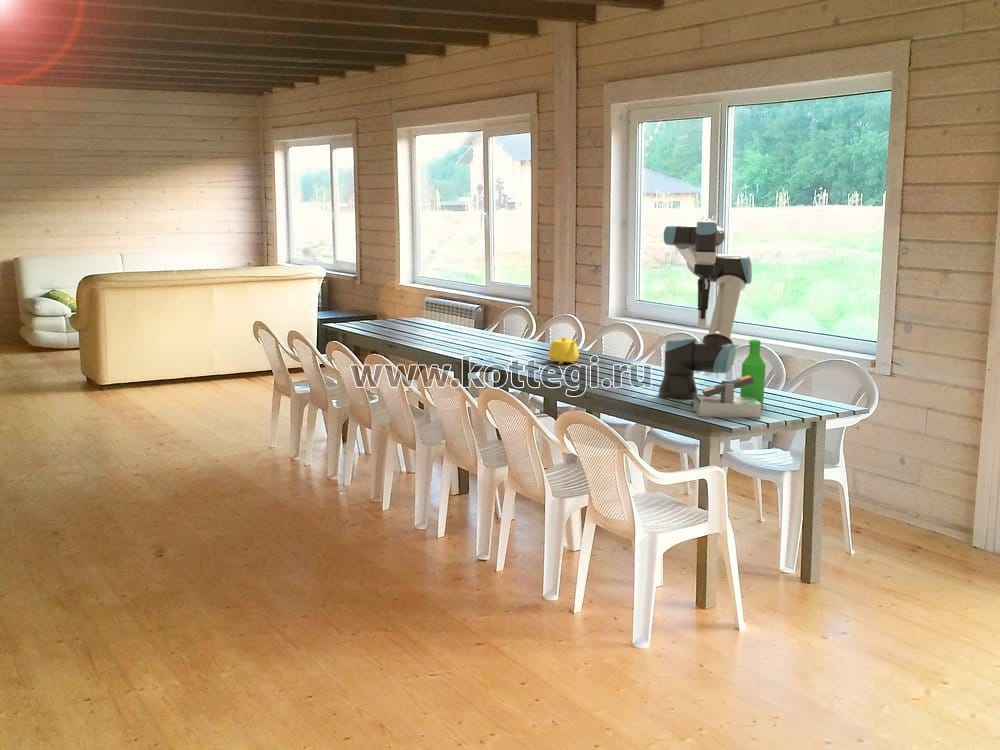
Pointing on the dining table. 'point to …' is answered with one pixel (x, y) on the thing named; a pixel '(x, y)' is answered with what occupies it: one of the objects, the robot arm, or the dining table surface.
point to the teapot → (563, 350)
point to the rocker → (721, 388)
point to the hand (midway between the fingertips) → (701, 327)
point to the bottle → (754, 373)
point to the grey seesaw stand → (726, 405)
